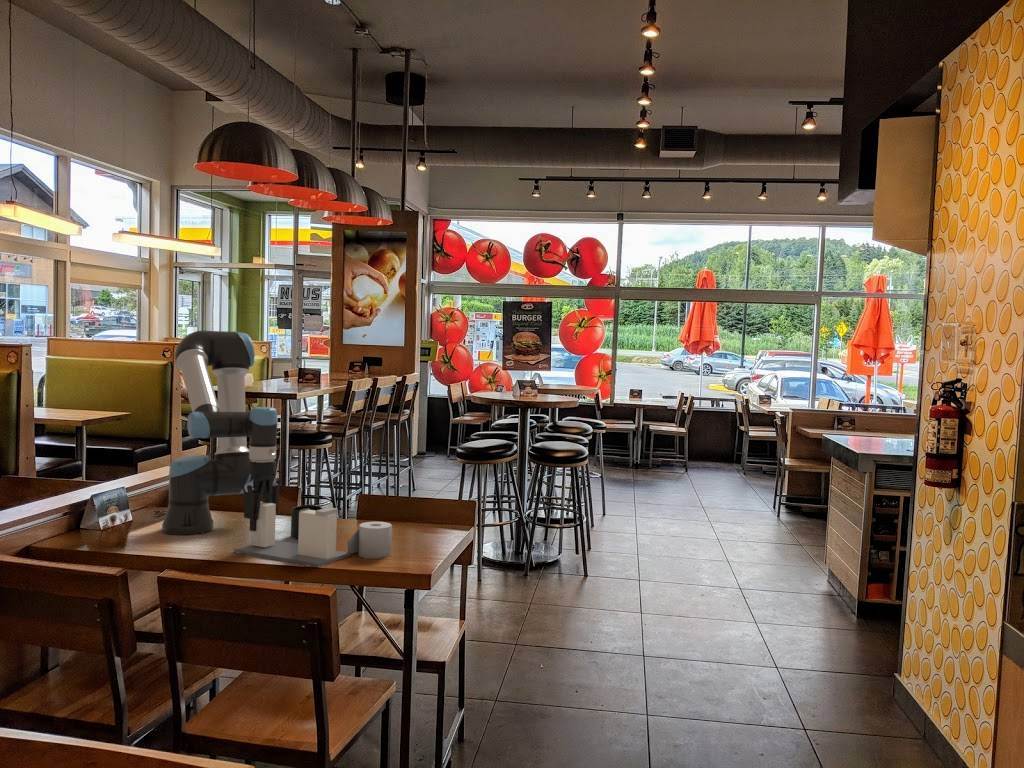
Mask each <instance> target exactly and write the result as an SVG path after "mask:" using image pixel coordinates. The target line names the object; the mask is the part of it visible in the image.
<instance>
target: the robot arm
mask: <svg viewBox="0 0 1024 768" xmlns="http://www.w3.org/2000/svg"><path fill="white" fill-rule="evenodd" d="M255 357H256V355H255V347H254V343H253V340H252V338H251V336H250V335H249V334H248V333H245V332H240V331H239V332H237V331H222V330H221V331H219V330H217V331H216V330H206V329H205V330H203V329H202V330H196V331H193V332H191V333H189V334H187V335H186V336H185V337H184V338H183V339H182V340H180V342H179V343H178V345H177V347H176V350H175V354H174V358H175V364H176V367H177V369H178V370H179V371H180V372H181V375H182V377H183V380H184V381H183V382H184V385H185V389H186V393H187V397H188V401H189V404H190V408H191V412H190V413H189V414H188V416H187V422H186V423H187V427H186V428H187V433H188V435H189V436H190V438H193V439H215V438H216V439H217V438H218V449H217V451H215V453H214V456H213V457H214V459H211V458H210V456H209V455H207V454H196V455H188V456H183V457H179V458H176V459H174V460H173V461H171V462H170V464H169V472H168V506H167V507H168V508H167V510H166V513H165V516H164V520H163V522H162V523H161V531H162V533H164V534H168V535H175V536H176V535H177V536H183V534H190V535H197V534H196V533H199V534H203V533H202V532H205V533H207V531H208V532H210V530H211V531H213V530H214V526H215V525H214V520H213V517H212V513H211V510H210V506H209V496H210V497H212V496H226V495H240V494H243V517H244V519H247V520H249V529H250V531H251V537H250V541H251V542H257V543H258V542H259V539H260V520H258V514H259V509H260V503H261V502H266V503H273V504H276V514H277V513H278V512H279V498H280V486H281V484H282V480H281V479H276V478H275V476H274V475H275V474H276V473H277V461H276V459H277V441H278V438H277V437H278V421H279V419H278V410H277V408H275V407H272V406H271V407H270V406H256V407H251V409H250V410H247V411H246V387H245V386H246V383H245V382H246V381H245V380H246V379H245V376H246V375H247V374H248V373H249V372H250V368H251V367H253V365H254V364H255ZM208 366H209V367H211V371H212V373H213V374H214V375H215V376H216V378H217V379H216V380H217V397H216V392H215V389H214V386H213V382H212V379H211V375H210V372H209V369H208ZM247 438H249V446H248V445H247V444H248V443H247ZM247 446H248V447H249V448H248V447H247ZM212 529H213V530H212Z"/></svg>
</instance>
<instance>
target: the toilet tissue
mask: <svg viewBox="0 0 1024 768" xmlns="http://www.w3.org/2000/svg"><path fill="white" fill-rule="evenodd" d="M392 539H393V524H391V522H384V521H367V522H364V521H363V522H362V523H360V524H359V525H358V528H357V530H356V531H355V532H354V533H353V535H352V536H351V537H350V539H348V541H347V552H348V553H350V555H351V553H352V554H355V553H356V554H358V556H359V557H360V556H361V558H364V557H366V559H383V558H382V557H384V558H387V557H386V556H388V557H390V556H391V555H392V545H393V543H392ZM390 554H391V555H390ZM389 555H390V556H389Z"/></svg>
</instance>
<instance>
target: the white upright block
mask: <svg viewBox="0 0 1024 768" xmlns="http://www.w3.org/2000/svg"><path fill="white" fill-rule="evenodd" d="M276 514H277V513H276V504H273V503H266V502H263V501H261V503H260V509H259V514H258V520H260V539H259V542H258V543H257V542H251V541H250V537H251V531H250V528H248V529H249V531H248V532H249V534H248V537H249V538H248V545H254V546H259V547H268V546H272V545H275V540H276V516H277V515H276Z"/></svg>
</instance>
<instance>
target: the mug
mask: <svg viewBox="0 0 1024 768" xmlns="http://www.w3.org/2000/svg"><path fill="white" fill-rule="evenodd" d="M307 508H309V510H315V511H317V510H321V509H324V508H323V507H322V506H319V505H297V506H294V507H291V514H290V515H291V516H290V517H291V518H290V525H291V526H290V538H291V539H293V540H296V541H298V536H299V510H303V509H307Z"/></svg>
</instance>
